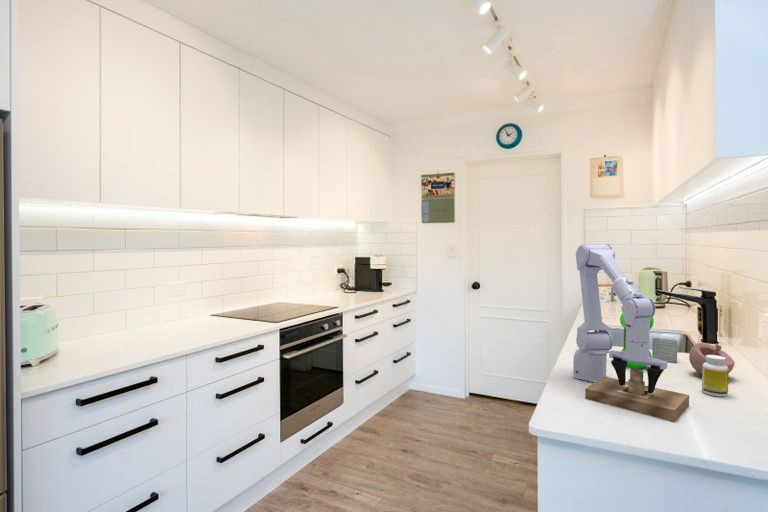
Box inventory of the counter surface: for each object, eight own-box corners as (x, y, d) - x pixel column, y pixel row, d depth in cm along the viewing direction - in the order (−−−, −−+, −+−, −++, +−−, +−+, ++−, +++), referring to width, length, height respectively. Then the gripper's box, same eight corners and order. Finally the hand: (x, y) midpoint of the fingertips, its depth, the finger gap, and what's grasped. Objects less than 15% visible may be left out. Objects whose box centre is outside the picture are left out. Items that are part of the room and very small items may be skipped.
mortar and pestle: (719, 385, 137) (720, 348, 136) (680, 374, 148) (681, 340, 147) (742, 379, 142) (743, 345, 141) (702, 369, 153) (703, 337, 152)
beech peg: (625, 401, 123) (626, 370, 123) (631, 398, 126) (632, 367, 125) (640, 406, 120) (641, 373, 120) (646, 402, 123) (647, 371, 122)
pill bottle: (732, 398, 126) (733, 360, 125) (708, 396, 127) (709, 359, 127) (720, 390, 132) (721, 354, 131) (697, 389, 133) (698, 353, 133)
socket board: (585, 398, 126) (585, 387, 126) (604, 386, 136) (604, 376, 136) (674, 421, 110) (674, 409, 110) (689, 405, 120) (689, 394, 120)
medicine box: (676, 360, 164) (677, 337, 163) (677, 363, 160) (677, 340, 159) (652, 357, 168) (652, 335, 167) (651, 360, 164) (652, 337, 164)
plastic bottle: (655, 372, 150) (657, 299, 149) (621, 368, 154) (622, 298, 152) (649, 364, 159) (651, 295, 158) (616, 361, 163) (618, 294, 162)
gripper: (672, 343, 119) (671, 392, 119) (617, 334, 130) (616, 378, 131) (661, 347, 115) (660, 398, 115) (605, 337, 126) (605, 383, 127)
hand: (636, 388), depth 123 cm, fingers open, 7 cm apart
